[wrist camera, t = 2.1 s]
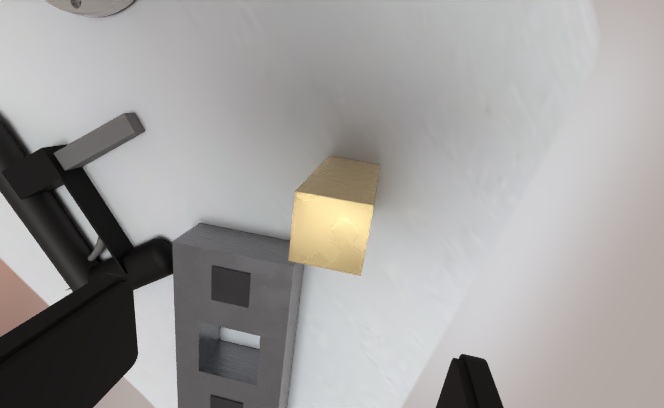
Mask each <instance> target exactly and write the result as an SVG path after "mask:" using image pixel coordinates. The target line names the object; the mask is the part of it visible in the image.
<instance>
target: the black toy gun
mask: <svg viewBox="0 0 664 408" xmlns="http://www.w3.org/2000/svg"><path fill="white" fill-rule="evenodd" d="M143 132H145V130H144V128H143V127H142V125H141V123H140V121H139V120H138V118H137V116H136V115H135V113H124V114H122V115H120V116H118V117H116V118H115V119H113V120H111V121H109V122H108V123H106V124H104V125H102V126H101V127H99V128H97V129H95V130H94V131H92V132H90V133H88V134H87V135H85V136H83V137H81V138H79V139H78V140H76V141H74V142H72V143H71V144H69V145H60V146H52V147H45V148H41V149H39V150H37V151H36V152H34V153H32V154H30V155H29V156H27V157H26V156H25V155H24V153H23V152H22V150H21V149H20V147H19V146H18V145H17V143H16V142H15V140H14V139H13V137H12V136H11V134H10V133H9V131H8V130H7V129H6V127H5V126H4V125H3V124H2V123H1V122H0V192H1V193H2V194H3V196H4V197H5V198H6V200H7V201H8V203H9V204H10V205H11V207H12V208H13V209H14V211H15V212H16V214H17V215H18V216H19V218H20V219H21V221H22V222H23V223H24V225H25V226H26V227H27V229H28V230H29V232H30V233H31V234H32V236H33V237H34V238H35V240H36V241H37V243H38V244H39V245H40V247H41V248H42V250H43V251H44V252H45V254H46V255H47V256H48V258H49V259H50V261H51V262H52V263H53V265H54V266H55V267H56V269H57V270H58V272H59V273H60V274H61V276H62V277H63V279H64V280H65V281H66V283H67V284H68V285H69V287H70V288H69V289H71V290H72V291H73V292H74V291H76V290H77V289H79V288H81V287H82V286H84V285H85V284H87V283H89V282H90V281H92V280H94V279H95V278H97V277H98V276H100V275H102V274H104V273H111V274H116V275H120V276H124V277H127V278H128V280H129V283H131V284H132V287H133V290H135V289H137V288H140V287H142V286H145V285H147V284H149V283H152V282H154V281H157V280H159V279H162V278H164V277H166V276H169V275H171V274H173V249H172V246H171V245H170V244H169V243H168V242H167V241H165V240H162V239H153V240H151V241H148V242H146V243H144V244H142V245H139V246H137V247H135V248H134V247H133V246H132V244H131V243H130V241H129V240H128V238H127V236H126V235H125V233H124V232H123V230H122V229H121V227H120V226H119V224H118V223H117V221H116V220H115V218H114V216H113V215H112V213H111V212H110V210H109V209H108V207H107V206H106V204H105V203H104V201H103V200H102V198H101V196H100V195H99V193H98V192H97V190H96V189H95V187H94V186H93V184H92V183H91V181H90V180H89V178H88V176H87V175H86V173H85V171H84V170H83V168H82V166H84V165H86V164H88V163H89V162H91V161H93V160H95V159H97V158H99V157H100V156H102V155H104V154H106V153H107V152H109V151H111V150H113V149H114V148H116V147H118V146H120V145H122V144H123V143H125V142H127V141H129V140H130V139H132V138H134V137H136V136H137V135H139V134H141V133H143ZM62 185H65V187H66V188H67V190H68V191H69V193H70V194H71V196H72V197H73V199H74V200H75V201H76V203H77V204H78V206H79V207H80V209H81V210H82V212H83V213H84V215H85V216H86V218H87V219H88V221H89V222H90V224H91V225H92V227H93V228H94V230H95V231H96V233H97V234H98V236H99V237H98V240H97V244H96V246H95V248H94V250H93V252H91V251H90V249H89V248H88V246H87V245H86V244H85V242H84V241H83V239H82V238H81V236H80V235H79V233H78V232H77V230H76V229H75V228H74V226H73V225H72V223H71V222H70V220H69V219H68V217H67V216H66V214H65V213H64V212H63V210H62V209H61V207H60V206H59V204H58V203H57V201H56V200H55V198H54V197H53V196H52V194H51V193H50V192H51V191H53V190H55V189H56V188H58V187H60V186H62ZM104 245H105V246H106V248H107V249H108V251H109V252H110V254H111V255H112V257H113V258H110V259H108V260H106V261H104V262H101V263H98V261H97V260H96V257H98V255H99V254H100V253H101V251H102V249H103V247H104ZM67 290H68V289H67Z"/></svg>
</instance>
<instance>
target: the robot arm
mask: <svg viewBox="0 0 664 408" xmlns="http://www.w3.org/2000/svg"><path fill="white" fill-rule="evenodd" d="M45 1H46V2H48V3H50V4H51V5H53V6H55V7H57V8H59V9H61V10H64V11H68V12H71V13H74V14H78V15H83V16H88V17H101V16H107V15H110V14H114V13H117V12H119V11H120V10H122V9H124V8H125V7H127V6H128V5H130V4H131V3H132V2H133V1H134V0H45ZM137 356H138V347H137V335H136V322H135V310H134V297H133V287H132V284H131V283H129V280H128V278H127V277H124V276H120V275H116V274H111V273H104V274H102V275H100V276H98V277H97V278H95V279H94V280H92V281H90V282H89V283H87V284H85V285H84V286H82V287H81V288H79V289H77V290H76V291H74V292H73V293H71V294H69V295H68V296H66V297H64V298H63V299H61V300H60V301H58V302H56V303H55V304H53V305H51V306H50V307H48V308H47V309H45V310H43V311H42V312H40V313H39V314H37V315H35V316H34V317H32V318H31V319H29V320H27V321H26V322H24V323H22V324H21V325H19V326H18V327H16V328H14V329H13V330H11V331H9V332H8V333H6V334H5V335H3V336H1V337H0V408H93V407H94V406H95V405H96V404H97V403H98V402H99V401H100V400H101V399H102V398H103V397H104V396H105V395H106V394H107V392H108V391H109V390H110V389H111V388H112V387H113V386H114V385H115V384H116V383H117V382H118V381H119V380H120V379H121V378H122V377H123V376H124V375H125V374H126V373H127V372H128V370H129V369H130V368H131V367H132V366H133V365H134V363H135V362H136V359H137ZM436 408H503V405H502V402H501V400H500V397H499V394H498V391H497V388H496V386H495V383H494V380H493V378H492V375H491V372H490V369H489V367H488V364H487V362H486V360H484V359H482V358H478V357H474V356H469V355H464V354H461V355H460V357H459V359H456V358H453V359H452V361H451V364H450V367H449V370H448V373H447V376H446V379H445V382H444V385H443V388H442V391H441V394H440V397H439V400H438V403H437V406H436Z"/></svg>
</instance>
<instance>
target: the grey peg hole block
mask: <svg viewBox="0 0 664 408" xmlns="http://www.w3.org/2000/svg"><path fill="white" fill-rule="evenodd" d="M172 249H173V278H174V306H175V334H176V362H177V390H178V408H287V402H288V394H289V385H290V377H291V368H292V360H293V352H294V343H295V335H296V326H297V318H298V309H299V301H300V292H301V284H302V276H303V267H304V264H302V263H297V262H292V261H288V259H289V249H290V241H287V240H282V239H277V238H272V237H267V236H262V235H257V234H252V233H247V232H242V231H237V230H232V229H227V228H222V227H216V226H211V225H206V224H201V223H199V224H198V225H196V226H195V227H193V228H192V229H190V230H189V231H187V232H186V233H184V234H183V235H181V236H180V237H178V238H177V239H175V240H174V241H172ZM220 327H225V328H229V329H233V330H237V331H242V332H246V333H250V334H254V335H259V336H261V337H260V350H258V349H254V348H250V347H246V346H242V345H237V344H233V343H229V342H225V341H221V340H220Z"/></svg>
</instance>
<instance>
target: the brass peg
mask: <svg viewBox="0 0 664 408" xmlns="http://www.w3.org/2000/svg"><path fill="white" fill-rule="evenodd" d="M378 172H379V164H373V163H367V162H361V161H355V160H349V159H343V158H337V157H331V156H329V157H328V158H327V159H326V160H325V161H324V162H323V163H322V164H321V165H320V166H319V167H318V168H317V169H316V170H315V171H314V172H313V174H312V175H311V176H310V177H309V178H308V179H307V180H306V181H305V182H304V183H303V184H302V185H301V186H300V187H299V188H298V189H297V190H296V191H295V199H294V209H293V219H292V229H291V239H290V249H289V259H288V261H292V262H297V263H302V264H306V265H311V266H316V267H321V268H326V269H331V270H336V271H341V272H345V273H350V274H355V275H360V276H361V272H362V267H363V261H364V256H365V251H366V246H367V240H368V235H369V230H370V224H371V219H372V214H373V208H374V202H375V195H376V187H377V180H378Z"/></svg>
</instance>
